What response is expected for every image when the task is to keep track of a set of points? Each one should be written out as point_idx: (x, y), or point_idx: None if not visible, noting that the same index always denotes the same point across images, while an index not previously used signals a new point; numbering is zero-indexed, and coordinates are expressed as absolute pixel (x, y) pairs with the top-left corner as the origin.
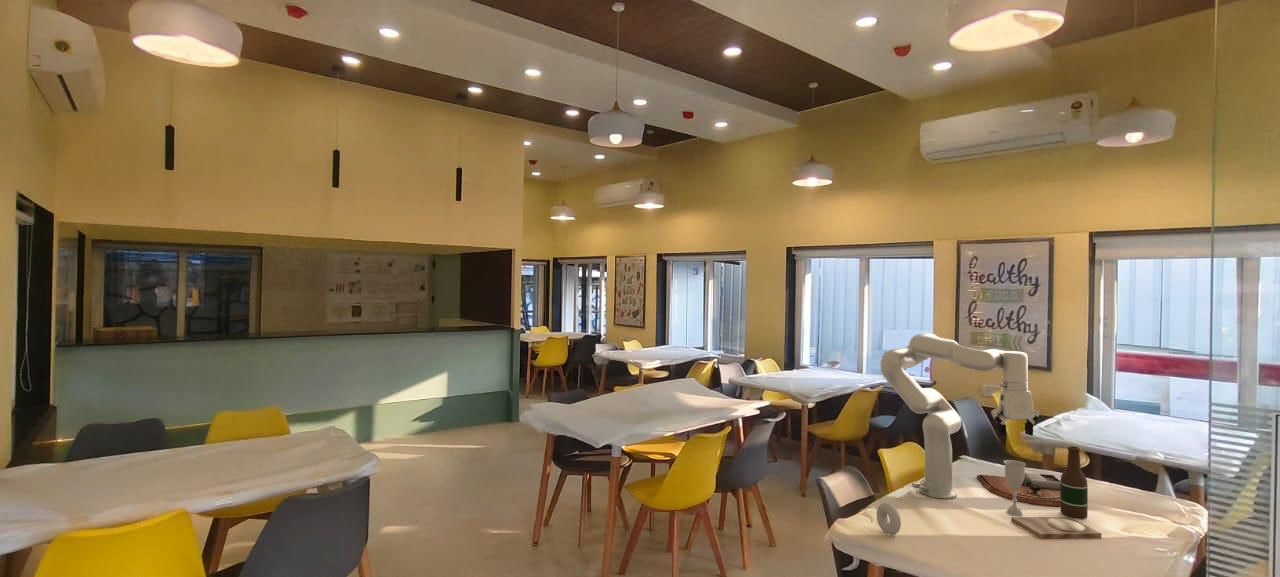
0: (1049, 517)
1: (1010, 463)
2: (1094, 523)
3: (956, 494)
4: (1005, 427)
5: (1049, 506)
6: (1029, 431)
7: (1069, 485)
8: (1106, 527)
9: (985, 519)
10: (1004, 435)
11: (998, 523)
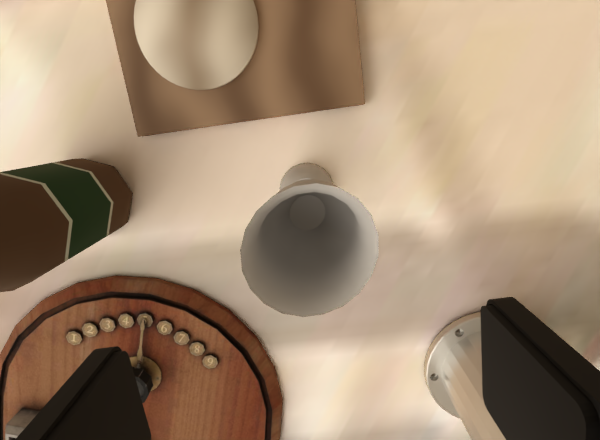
0: (215, 118)
1: (308, 297)
2: (58, 122)
3: (436, 342)
4: (569, 371)
5: (141, 277)
6: (109, 402)
7: (48, 196)
8: (33, 84)
9: (449, 117)
10: (508, 298)
11: (422, 79)
